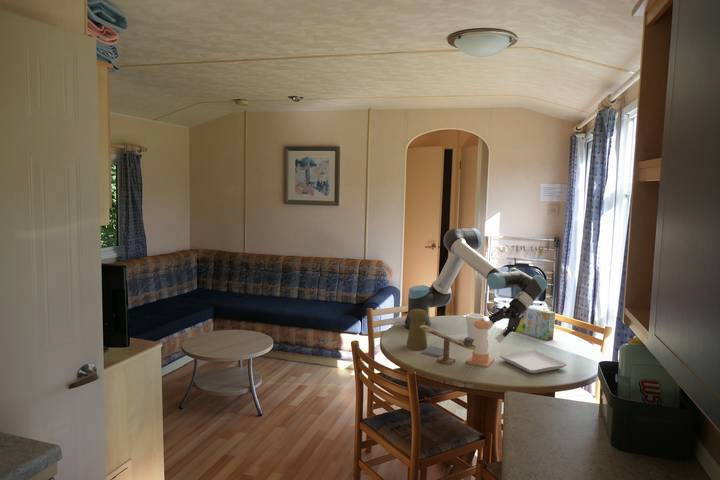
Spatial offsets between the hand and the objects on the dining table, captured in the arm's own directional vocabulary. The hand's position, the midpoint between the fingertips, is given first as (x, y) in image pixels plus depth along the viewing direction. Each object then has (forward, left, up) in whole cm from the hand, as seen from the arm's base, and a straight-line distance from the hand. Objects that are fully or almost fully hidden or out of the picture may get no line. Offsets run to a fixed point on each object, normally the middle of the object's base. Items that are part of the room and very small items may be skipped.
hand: (490, 336), depth 226 cm
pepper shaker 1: (-36, -1, -12) cm, 38 cm away
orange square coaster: (-3, -3, -12) cm, 13 cm away
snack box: (+7, +58, -12) cm, 59 cm away
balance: (-16, -12, -12) cm, 23 cm away
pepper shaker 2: (-3, -3, -11) cm, 12 cm away
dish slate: (-25, -3, -12) cm, 28 cm away
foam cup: (-17, +29, -12) cm, 35 cm away
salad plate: (+18, +7, -12) cm, 23 cm away
